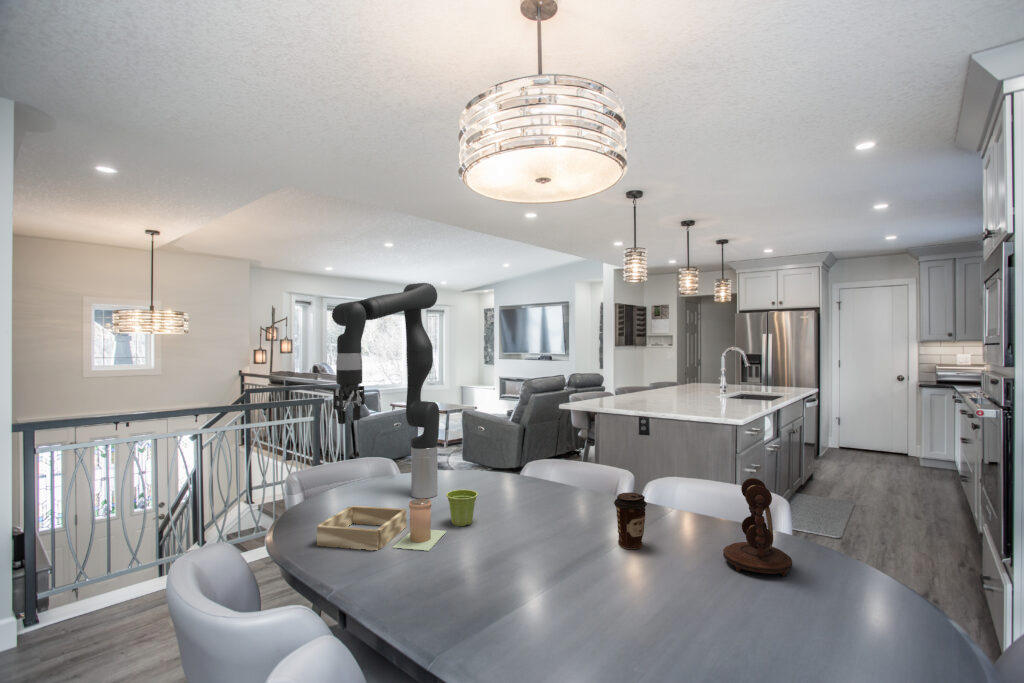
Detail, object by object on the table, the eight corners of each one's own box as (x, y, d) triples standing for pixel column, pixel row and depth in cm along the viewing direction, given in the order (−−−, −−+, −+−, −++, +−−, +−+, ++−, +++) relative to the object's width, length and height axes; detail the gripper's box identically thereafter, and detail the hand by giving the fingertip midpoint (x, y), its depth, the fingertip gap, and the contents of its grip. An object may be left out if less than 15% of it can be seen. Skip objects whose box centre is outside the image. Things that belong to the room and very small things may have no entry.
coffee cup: (654, 545, 134) (653, 495, 134) (638, 554, 128) (637, 502, 128) (624, 536, 140) (624, 489, 140) (608, 545, 134) (607, 496, 134)
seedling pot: (414, 534, 142) (414, 497, 142) (434, 535, 141) (434, 499, 141) (405, 542, 136) (405, 504, 136) (426, 543, 135) (426, 505, 135)
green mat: (413, 529, 146) (413, 528, 146) (446, 531, 144) (446, 530, 144) (392, 548, 133) (392, 547, 133) (428, 551, 131) (428, 550, 131)
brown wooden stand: (799, 583, 111) (798, 492, 112) (726, 575, 116) (725, 487, 116) (784, 557, 126) (783, 476, 126) (720, 550, 130) (719, 472, 130)
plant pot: (480, 518, 156) (480, 489, 156) (474, 529, 146) (474, 499, 147) (450, 517, 157) (450, 489, 157) (443, 528, 147) (442, 498, 148)
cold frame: (350, 522, 153) (350, 505, 153) (408, 526, 149) (407, 509, 149) (314, 545, 135) (314, 526, 135) (378, 550, 131) (378, 531, 131)
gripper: (348, 369, 147) (348, 425, 147) (371, 367, 161) (372, 418, 160) (324, 369, 148) (325, 425, 148) (350, 367, 162) (350, 418, 162)
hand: (349, 421), depth 154 cm, fingers open, 8 cm apart
